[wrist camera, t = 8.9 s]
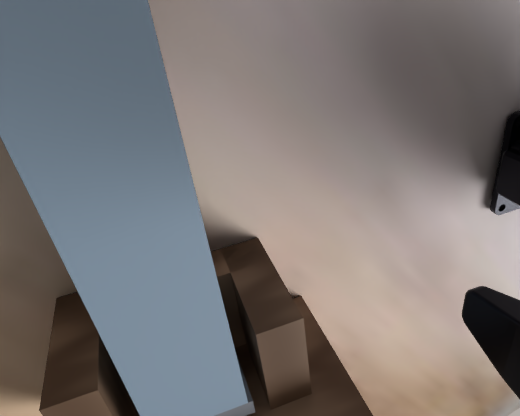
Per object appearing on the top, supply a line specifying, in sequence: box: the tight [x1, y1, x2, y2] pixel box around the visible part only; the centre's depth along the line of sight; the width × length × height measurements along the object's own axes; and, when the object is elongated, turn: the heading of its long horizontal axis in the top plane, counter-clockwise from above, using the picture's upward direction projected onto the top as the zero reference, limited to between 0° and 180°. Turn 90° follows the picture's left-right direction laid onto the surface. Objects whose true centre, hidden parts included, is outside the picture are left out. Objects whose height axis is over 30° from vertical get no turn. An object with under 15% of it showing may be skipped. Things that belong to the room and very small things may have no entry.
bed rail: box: [0, 0, 255, 416], centre depth 13 cm, size 4×22×4 cm, turn 7°
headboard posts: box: [39, 238, 373, 416], centre depth 14 cm, size 14×26×8 cm, turn 7°
